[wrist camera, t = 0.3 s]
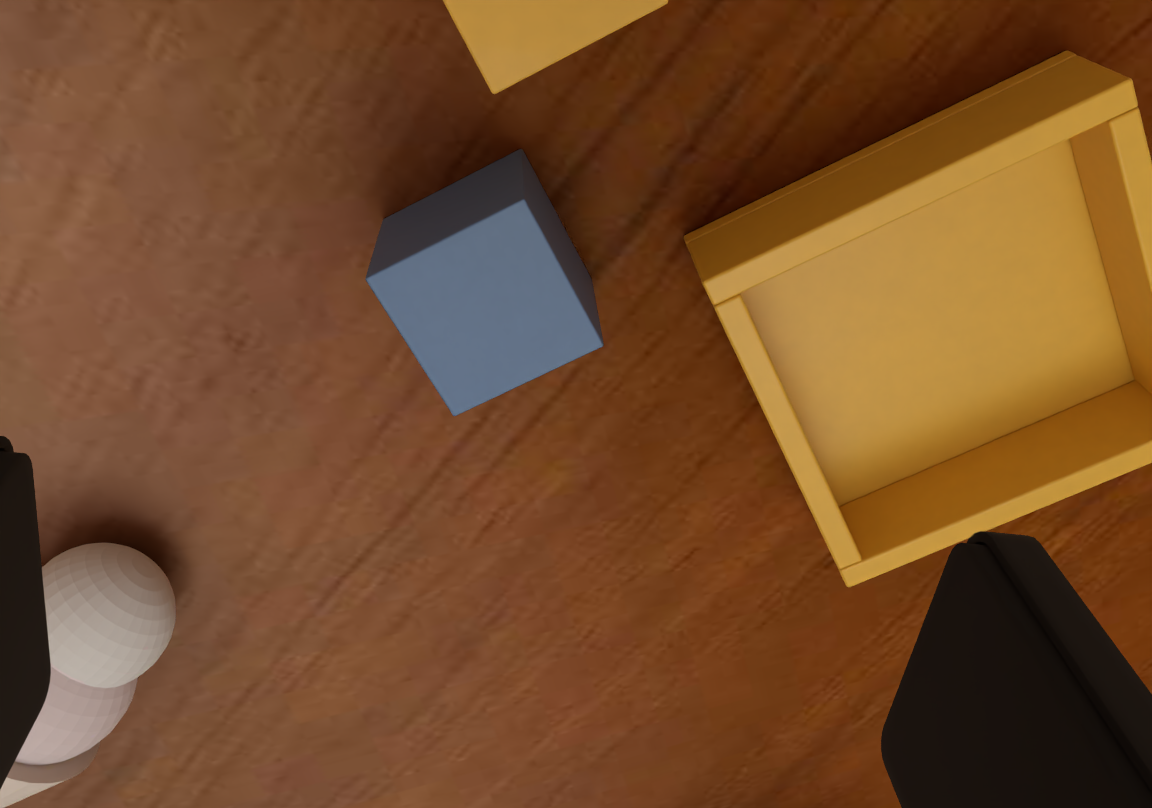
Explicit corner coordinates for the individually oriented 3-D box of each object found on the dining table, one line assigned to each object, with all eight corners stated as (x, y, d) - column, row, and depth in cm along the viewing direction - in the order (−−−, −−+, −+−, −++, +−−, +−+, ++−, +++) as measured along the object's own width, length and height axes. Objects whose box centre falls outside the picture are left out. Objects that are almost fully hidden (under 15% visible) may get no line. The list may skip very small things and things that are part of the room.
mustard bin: (682, 235, 32) (701, 282, 29) (1067, 48, 30) (1133, 77, 27) (818, 522, 37) (847, 589, 34) (1153, 380, 35) (1217, 436, 32)
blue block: (382, 219, 31) (364, 278, 27) (521, 147, 30) (524, 198, 26) (459, 345, 33) (453, 417, 29) (592, 280, 32) (604, 346, 28)
